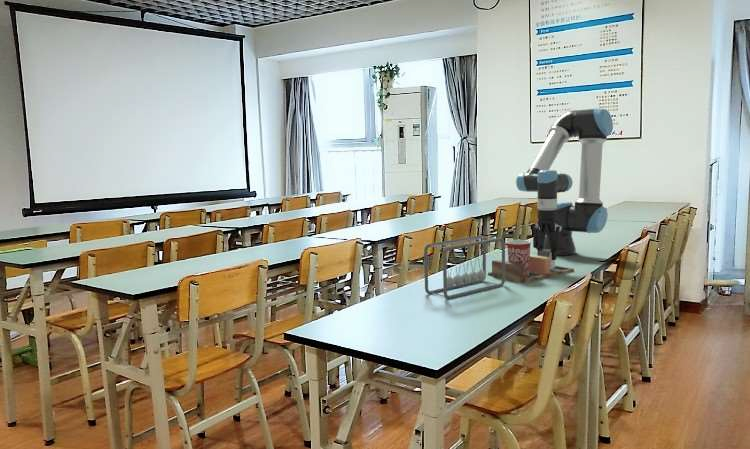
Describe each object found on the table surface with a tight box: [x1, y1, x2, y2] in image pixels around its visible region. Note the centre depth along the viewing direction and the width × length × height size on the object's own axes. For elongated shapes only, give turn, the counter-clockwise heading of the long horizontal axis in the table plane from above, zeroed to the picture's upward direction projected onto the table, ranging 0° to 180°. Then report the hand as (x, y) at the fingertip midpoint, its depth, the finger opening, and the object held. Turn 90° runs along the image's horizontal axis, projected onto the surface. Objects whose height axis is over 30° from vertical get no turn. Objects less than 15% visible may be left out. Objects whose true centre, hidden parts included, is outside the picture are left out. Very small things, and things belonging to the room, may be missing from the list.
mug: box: [506, 239, 532, 279], centre depth 229 cm, size 13×9×14 cm
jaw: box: [529, 253, 551, 276], centre depth 234 cm, size 3×14×7 cm, turn 35°
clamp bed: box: [487, 259, 575, 284], centre depth 233 cm, size 29×18×6 cm, turn 125°
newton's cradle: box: [423, 234, 506, 300], centre depth 209 cm, size 30×10×18 cm, turn 127°
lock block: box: [539, 249, 552, 270], centre depth 238 cm, size 4×4×7 cm
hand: (546, 266), depth 239 cm, fingers closed on lock block, 4 cm apart
